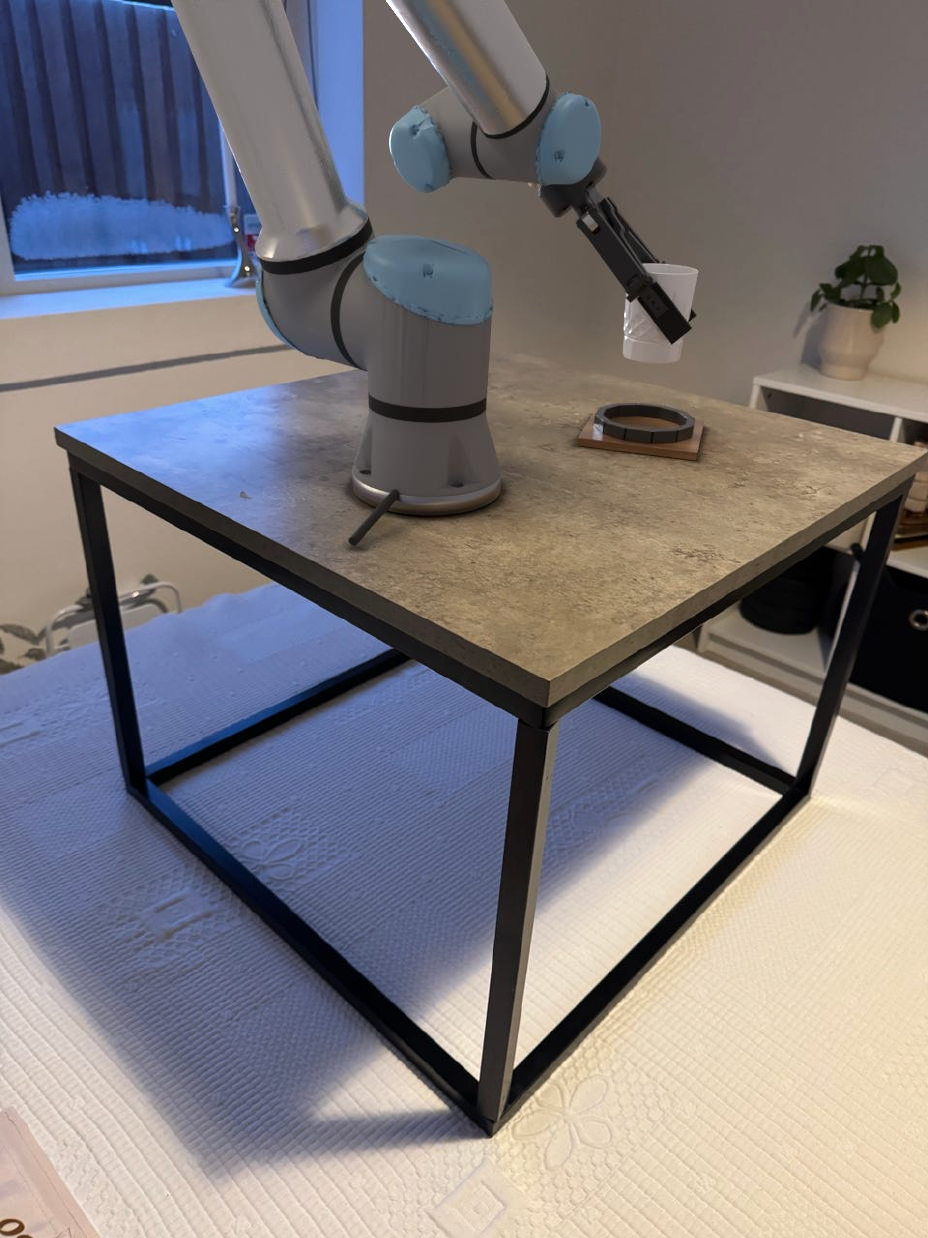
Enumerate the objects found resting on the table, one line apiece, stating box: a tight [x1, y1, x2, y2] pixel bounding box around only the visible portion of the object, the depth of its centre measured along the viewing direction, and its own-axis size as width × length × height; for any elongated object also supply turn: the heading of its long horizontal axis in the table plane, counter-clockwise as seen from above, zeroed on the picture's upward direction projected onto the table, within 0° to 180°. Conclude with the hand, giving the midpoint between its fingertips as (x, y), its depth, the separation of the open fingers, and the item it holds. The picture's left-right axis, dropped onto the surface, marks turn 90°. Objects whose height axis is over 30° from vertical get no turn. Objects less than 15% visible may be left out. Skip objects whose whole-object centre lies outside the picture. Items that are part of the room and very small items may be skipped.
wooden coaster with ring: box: [576, 402, 705, 461], centre depth 106 cm, size 14×14×2 cm
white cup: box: [622, 263, 699, 365], centre depth 100 cm, size 8×8×10 cm
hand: (684, 329), depth 100 cm, fingers closed on white cup, 8 cm apart
